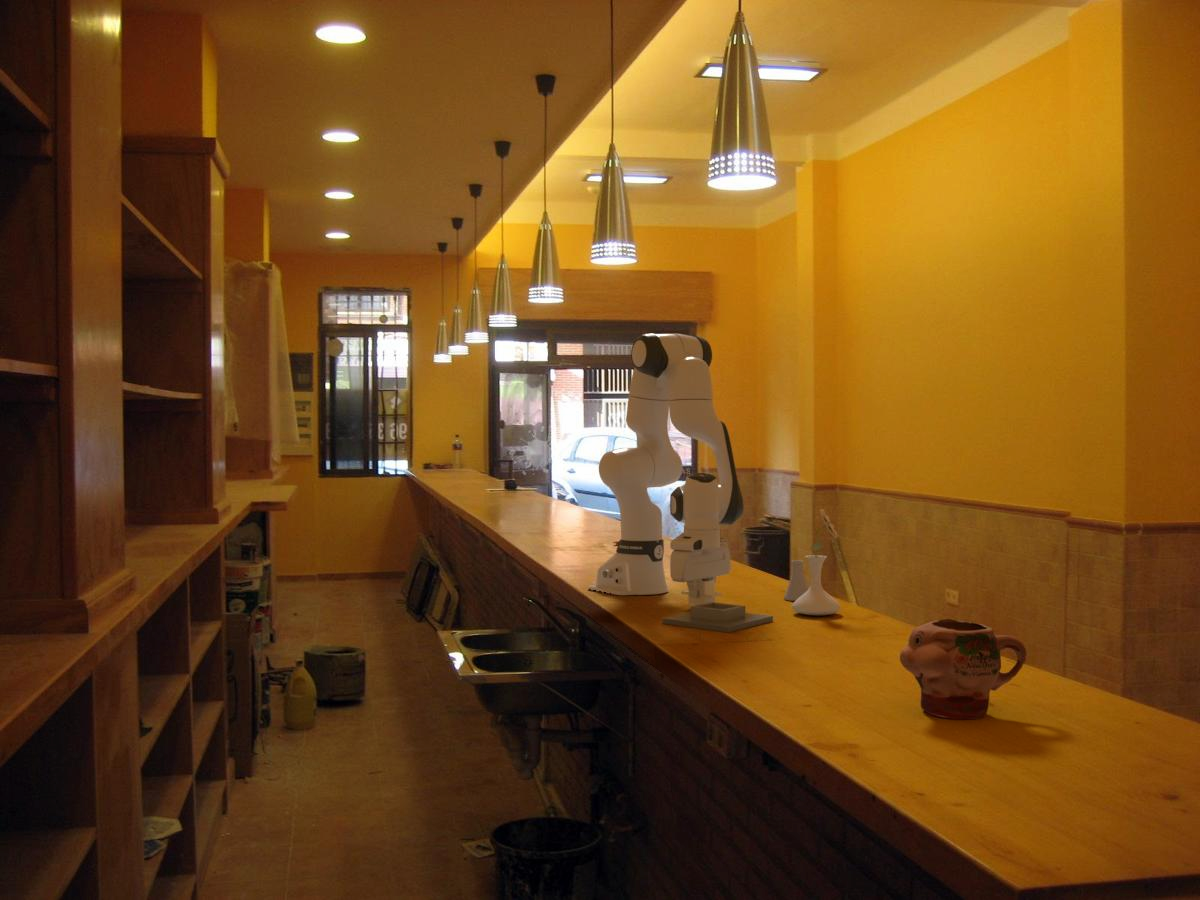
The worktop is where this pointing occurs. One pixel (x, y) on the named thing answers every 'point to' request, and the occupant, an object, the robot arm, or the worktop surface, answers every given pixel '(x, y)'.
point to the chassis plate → (718, 617)
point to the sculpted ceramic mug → (958, 666)
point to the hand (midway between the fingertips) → (701, 596)
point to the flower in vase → (817, 582)
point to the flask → (796, 582)
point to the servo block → (703, 592)
